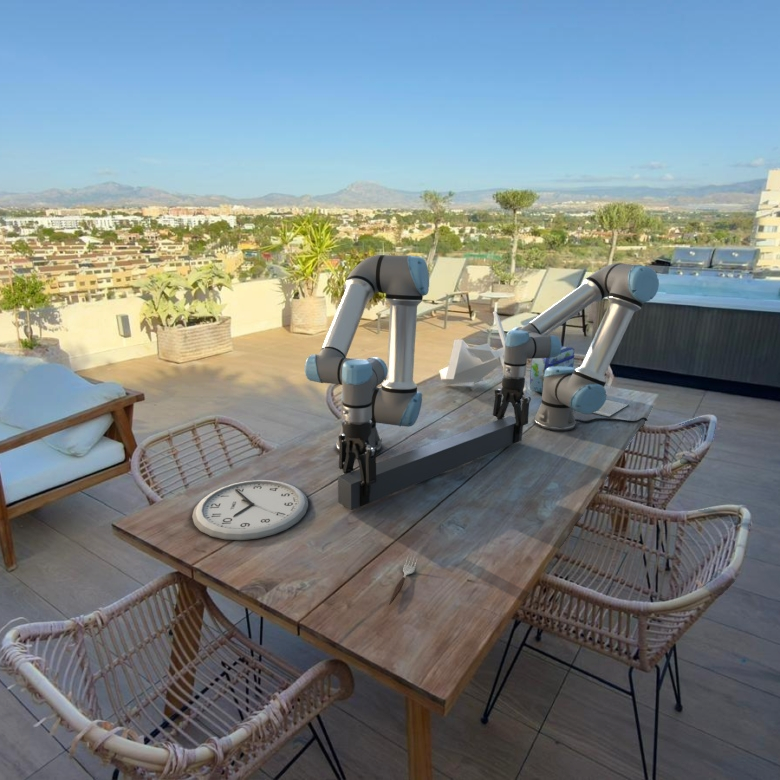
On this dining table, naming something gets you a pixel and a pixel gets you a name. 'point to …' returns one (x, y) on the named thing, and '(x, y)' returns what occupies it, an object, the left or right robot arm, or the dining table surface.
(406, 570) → the fork
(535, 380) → the lunch box
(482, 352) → the white plastic object
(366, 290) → the left robot arm
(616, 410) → the invitation card
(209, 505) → the wall clock
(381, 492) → the bar
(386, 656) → the dining table surface
